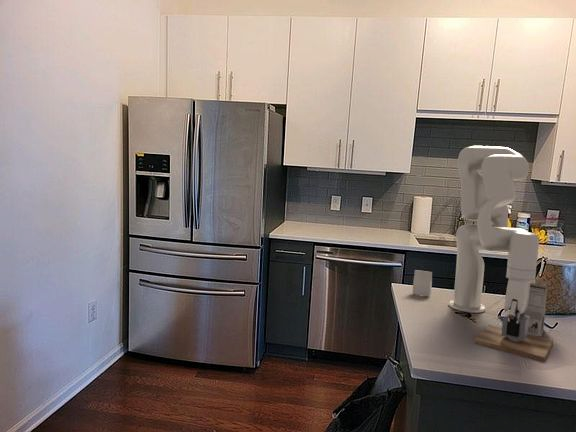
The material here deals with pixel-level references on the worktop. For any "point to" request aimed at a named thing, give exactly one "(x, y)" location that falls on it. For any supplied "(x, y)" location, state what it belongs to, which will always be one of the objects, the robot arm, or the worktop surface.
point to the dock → (515, 343)
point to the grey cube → (522, 330)
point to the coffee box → (537, 307)
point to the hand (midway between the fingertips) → (514, 332)
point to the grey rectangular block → (422, 283)
